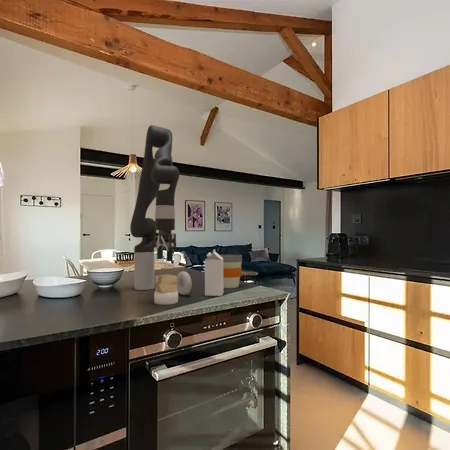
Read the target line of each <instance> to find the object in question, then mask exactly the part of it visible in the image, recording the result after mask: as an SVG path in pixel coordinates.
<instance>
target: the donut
mask: <svg viewBox="0 0 450 450" xmlns="http://www.w3.org/2000/svg"><path fill="white" fill-rule="evenodd" d="M176 276H177V291H178V294H179V295H181V296H187V295H188V294H190V292H191V289H192V285H193V284H192V282H193V281H192V277H191V275H190V274H189V273H188V272H187V271H184V270H183V271H180V272H179V273H178V274H177V275H176Z"/></svg>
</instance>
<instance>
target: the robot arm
mask: <svg viewBox="0 0 450 450" xmlns="http://www.w3.org/2000/svg"><path fill="white" fill-rule="evenodd" d="M153 148H157V150H156V152H155V154H154V152H153ZM172 149H173V133H172V131H171V130H170V129H169V128H165V127H162V126H157V125H154V124H153V125H152V124H150V125H149V127H148V128H147V131H146V137H145V145H144V153H143V154H144V155H143V156H144V157H143V161H142V168H141V173H140V177H139V178H140V179H139V183H138V188H137V189H138V190H137V197H136V202H135V205H134V210H133V214H132V217H131V221H130V227H129V229H130V234H131V236H132V237H133V238H139V239H140V238H141V241H140V243H138V244H136V245H134V248H133V250H134V251H133V254H134V255H133V257H134V258H133V260H134V261H133V263H134V264H133V268H134V272H133V275H134V278H133V283H134V285H133V286H134V287H133V288H134V290H137V291H145V290H146V291H148V290H153V289H155V248H156V259H157V260H163V259H164V247H165V249H166V262H173V259H174V257H173V255H174V250H176V249H177V234H176V233H172V231H175V230H176V211H175V197H176V189H177V185H178V182H179V179H180V170H179V169H178V167H177V166H174V162H173V157H172V151H173V150H172ZM161 185H169V186H168V188H166V189H160V187H161ZM154 200H155V209H154V210H155V211H154V219H153V218H152V217H151V218H150V217H146V216H147V212H148V209H149V207H150V206H151V204H152V203H153V201H154ZM157 231H158V232H157Z"/></svg>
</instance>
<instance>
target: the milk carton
mask: <svg viewBox="0 0 450 450" xmlns="http://www.w3.org/2000/svg"><path fill="white" fill-rule="evenodd" d="M220 255H221V254H219V253H217V252H216V249H213V250H212V252H208V253H207V254H206V257H207V258H205V259H204V296H206V297H207V296H213V297H215V296H216V297H218V296H219V297H221V296H223V294H224V291H225V290H224V289H225V288H224V283H223V258H222V257H221V256H220Z"/></svg>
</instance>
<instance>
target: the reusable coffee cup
mask: <svg viewBox="0 0 450 450" xmlns="http://www.w3.org/2000/svg"><path fill="white" fill-rule="evenodd" d="M219 255H220V256H221V257H222V258H223V283H224V289H235V288H239V286H240V279H241V276H242V269H243V267H242V262H243V256H242V254H231V253H229V254H219Z"/></svg>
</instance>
